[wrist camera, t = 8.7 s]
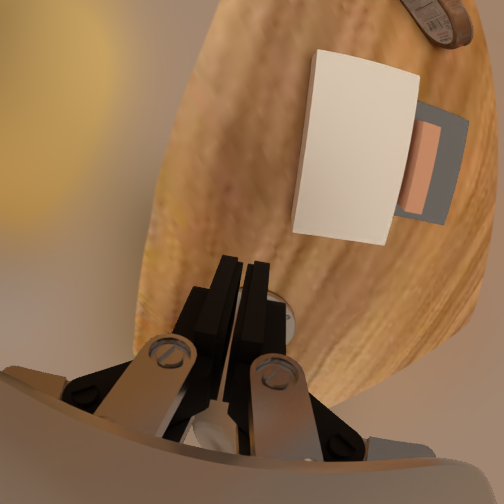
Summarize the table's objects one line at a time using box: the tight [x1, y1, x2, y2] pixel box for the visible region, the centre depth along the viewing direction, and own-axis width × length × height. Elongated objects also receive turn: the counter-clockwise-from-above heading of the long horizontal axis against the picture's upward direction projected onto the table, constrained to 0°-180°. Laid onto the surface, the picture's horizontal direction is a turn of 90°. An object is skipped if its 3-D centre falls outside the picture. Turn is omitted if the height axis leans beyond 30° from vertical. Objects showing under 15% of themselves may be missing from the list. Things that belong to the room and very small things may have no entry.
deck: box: [291, 49, 420, 246], centre depth 27 cm, size 18×10×5 cm, turn 175°
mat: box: [394, 101, 469, 225], centre depth 29 cm, size 14×10×1 cm
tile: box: [397, 119, 441, 214], centre depth 26 cm, size 9×6×2 cm
